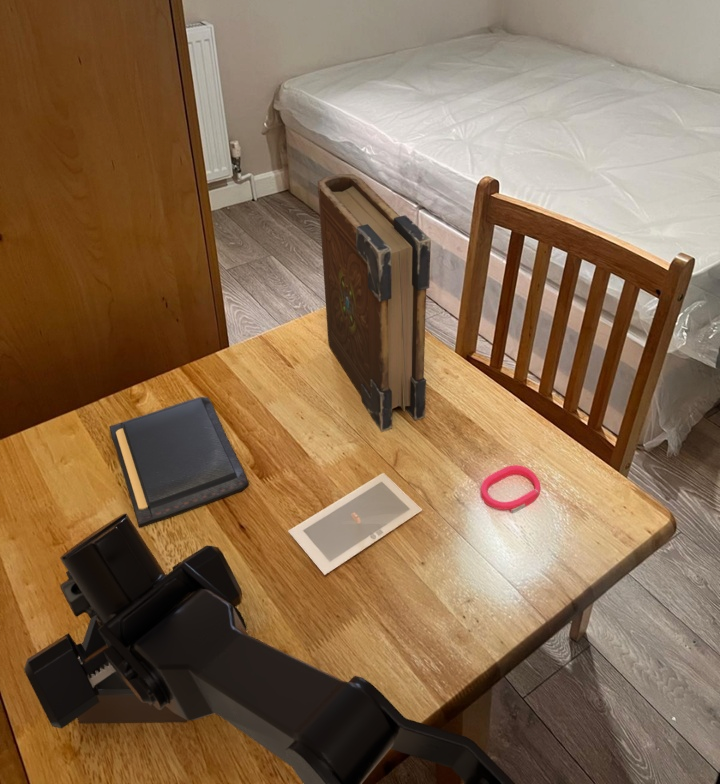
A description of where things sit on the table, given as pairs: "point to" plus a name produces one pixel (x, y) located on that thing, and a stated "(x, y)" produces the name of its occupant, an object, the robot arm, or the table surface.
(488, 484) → the fitness band
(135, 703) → the open storage box
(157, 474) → the wallet
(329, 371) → the table surface
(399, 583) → the table surface
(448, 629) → the table surface
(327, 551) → the white grey flat rectangle
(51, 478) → the table surface
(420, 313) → the decorative book
